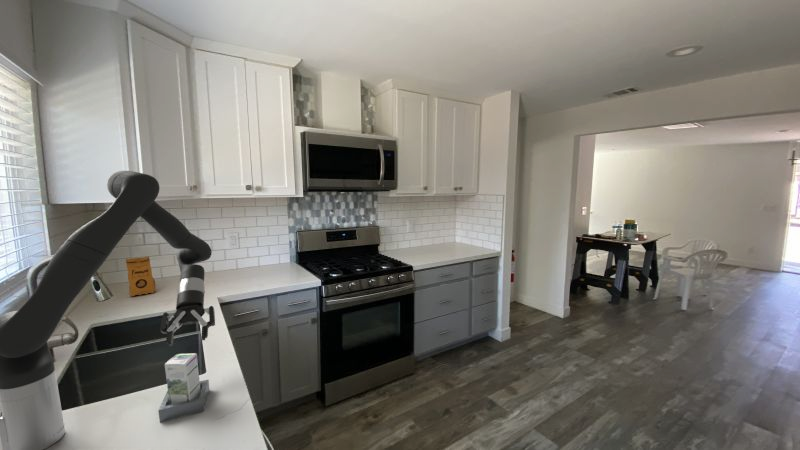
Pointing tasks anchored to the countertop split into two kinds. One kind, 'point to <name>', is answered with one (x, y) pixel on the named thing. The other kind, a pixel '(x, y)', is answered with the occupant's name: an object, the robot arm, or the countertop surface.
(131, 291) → the coffee package
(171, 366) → the syrup box
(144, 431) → the countertop surface
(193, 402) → the gray square tray
